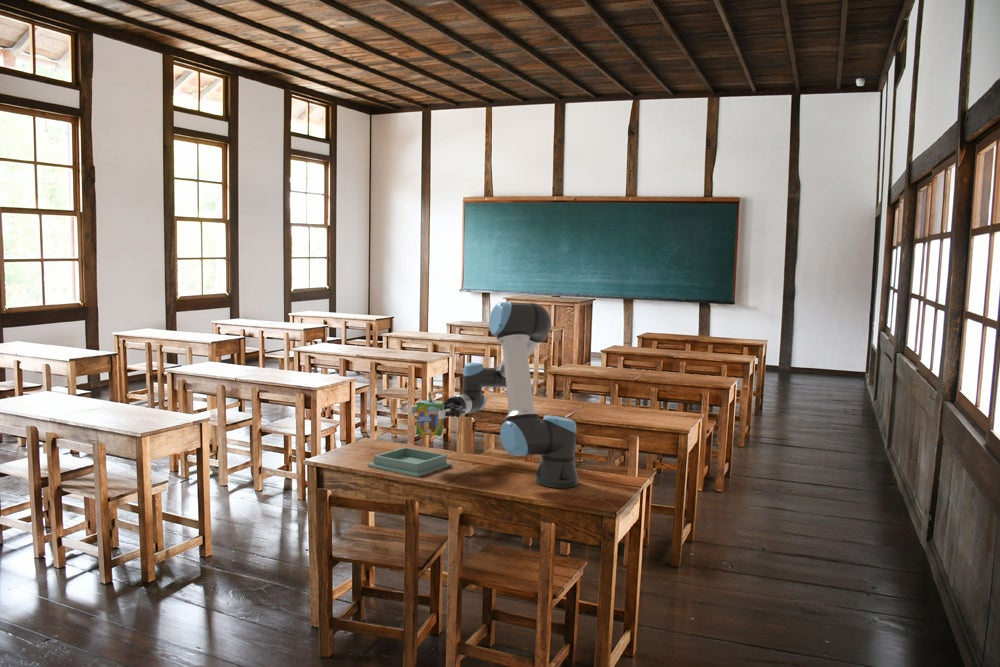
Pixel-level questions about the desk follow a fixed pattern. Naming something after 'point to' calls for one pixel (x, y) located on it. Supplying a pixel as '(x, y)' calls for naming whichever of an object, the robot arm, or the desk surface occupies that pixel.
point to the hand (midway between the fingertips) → (424, 412)
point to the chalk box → (429, 417)
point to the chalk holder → (410, 461)
